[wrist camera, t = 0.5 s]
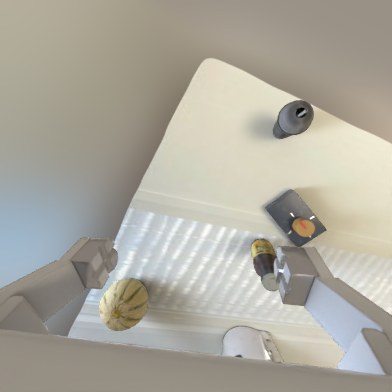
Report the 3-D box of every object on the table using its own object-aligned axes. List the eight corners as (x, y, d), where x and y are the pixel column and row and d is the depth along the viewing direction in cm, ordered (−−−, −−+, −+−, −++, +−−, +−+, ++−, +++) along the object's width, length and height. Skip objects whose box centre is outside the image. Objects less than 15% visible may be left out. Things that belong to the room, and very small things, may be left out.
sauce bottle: (273, 239, 57) (295, 272, 37) (269, 259, 58) (288, 300, 38) (251, 235, 58) (261, 265, 38) (247, 254, 59) (255, 292, 39)
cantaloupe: (117, 304, 70) (86, 338, 55) (118, 267, 68) (87, 291, 53) (154, 312, 67) (132, 350, 52) (156, 274, 65) (135, 302, 51)
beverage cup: (300, 124, 52) (341, 93, 33) (285, 148, 54) (317, 131, 34) (276, 113, 53) (303, 75, 34) (262, 136, 54) (280, 113, 35)
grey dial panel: (321, 227, 54) (327, 230, 51) (294, 244, 56) (298, 248, 53) (290, 189, 54) (294, 189, 51) (264, 207, 56) (266, 209, 53)
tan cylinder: (312, 226, 52) (319, 230, 48) (298, 236, 52) (304, 240, 49) (302, 214, 52) (308, 217, 48) (288, 223, 53) (293, 227, 49)
